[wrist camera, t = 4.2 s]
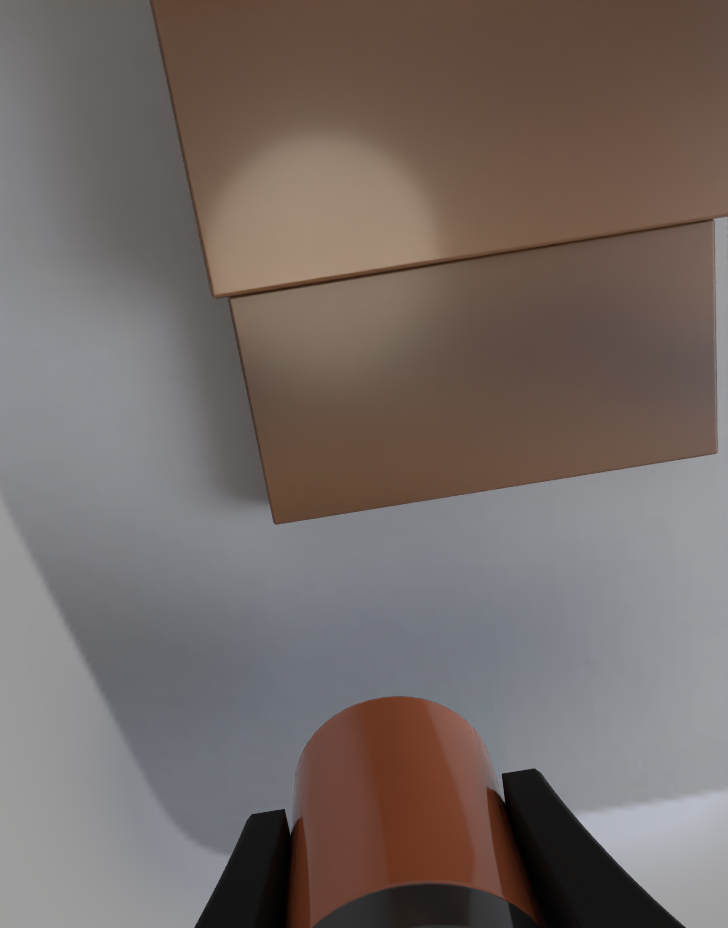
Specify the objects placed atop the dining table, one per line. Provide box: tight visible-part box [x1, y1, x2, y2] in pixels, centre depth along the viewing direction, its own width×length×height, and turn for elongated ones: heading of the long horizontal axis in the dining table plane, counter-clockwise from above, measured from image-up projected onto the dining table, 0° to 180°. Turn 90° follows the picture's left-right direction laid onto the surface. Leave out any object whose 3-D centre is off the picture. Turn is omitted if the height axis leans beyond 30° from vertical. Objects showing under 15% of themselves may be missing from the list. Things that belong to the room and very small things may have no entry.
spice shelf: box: [150, 0, 728, 524], centre depth 13 cm, size 16×11×6 cm, turn 9°
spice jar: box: [284, 696, 546, 928], centre depth 11 cm, size 4×4×5 cm
